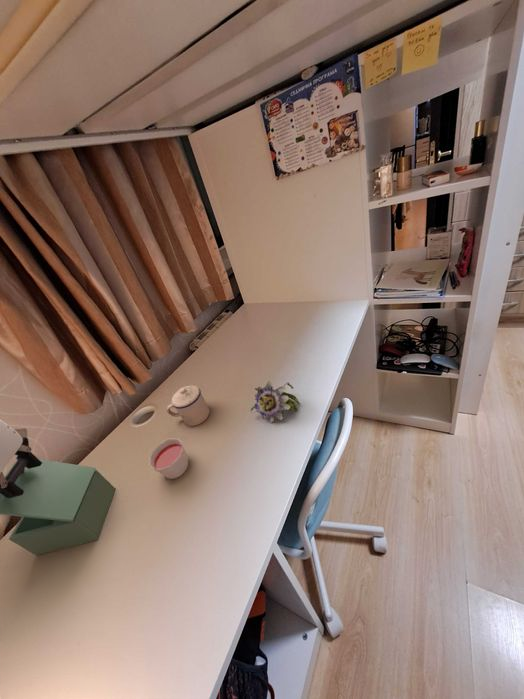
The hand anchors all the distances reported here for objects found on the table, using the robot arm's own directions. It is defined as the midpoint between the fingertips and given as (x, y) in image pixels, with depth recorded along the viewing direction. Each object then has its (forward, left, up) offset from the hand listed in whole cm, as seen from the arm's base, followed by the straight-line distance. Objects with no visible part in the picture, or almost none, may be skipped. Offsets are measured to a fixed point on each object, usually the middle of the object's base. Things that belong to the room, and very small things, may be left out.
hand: (26, 479), depth 62 cm
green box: (0, 0, -18) cm, 18 cm away
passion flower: (+30, +49, -19) cm, 60 cm away
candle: (+14, +22, -19) cm, 32 cm away
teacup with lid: (+5, +37, -19) cm, 42 cm away
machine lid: (+1, +1, -4) cm, 4 cm away
